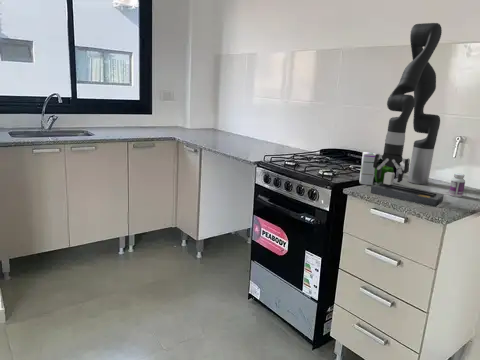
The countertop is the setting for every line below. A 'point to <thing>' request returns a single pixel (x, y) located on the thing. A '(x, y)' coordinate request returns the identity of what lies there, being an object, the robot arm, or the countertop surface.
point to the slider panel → (408, 194)
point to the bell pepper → (383, 173)
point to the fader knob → (389, 178)
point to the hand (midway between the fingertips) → (388, 180)
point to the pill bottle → (457, 185)
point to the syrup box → (367, 168)
